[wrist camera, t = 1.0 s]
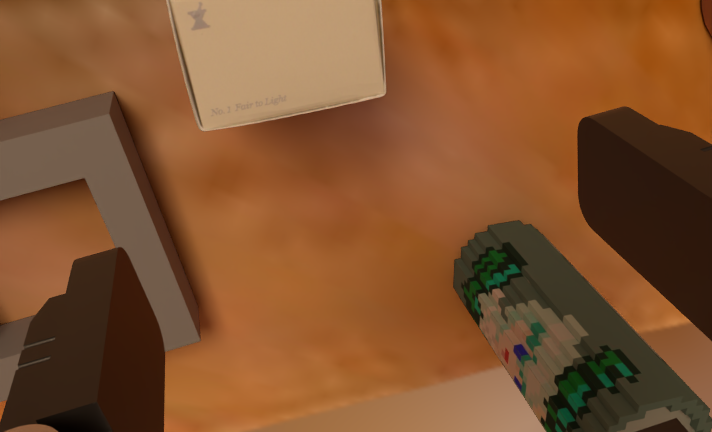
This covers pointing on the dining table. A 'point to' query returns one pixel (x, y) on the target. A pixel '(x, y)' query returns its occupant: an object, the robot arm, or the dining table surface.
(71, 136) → the socket block
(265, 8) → the skincare box
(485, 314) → the can
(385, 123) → the dining table surface
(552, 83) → the dining table surface
